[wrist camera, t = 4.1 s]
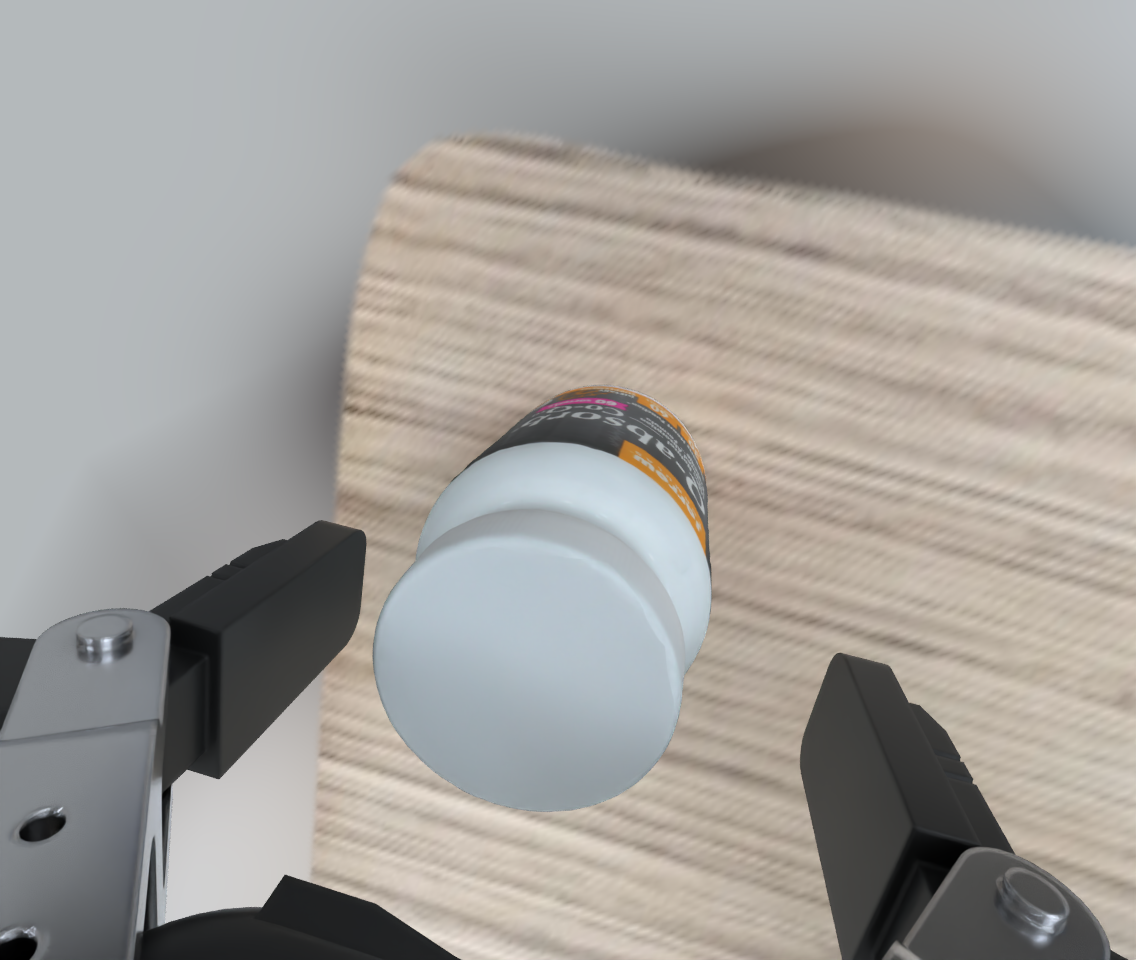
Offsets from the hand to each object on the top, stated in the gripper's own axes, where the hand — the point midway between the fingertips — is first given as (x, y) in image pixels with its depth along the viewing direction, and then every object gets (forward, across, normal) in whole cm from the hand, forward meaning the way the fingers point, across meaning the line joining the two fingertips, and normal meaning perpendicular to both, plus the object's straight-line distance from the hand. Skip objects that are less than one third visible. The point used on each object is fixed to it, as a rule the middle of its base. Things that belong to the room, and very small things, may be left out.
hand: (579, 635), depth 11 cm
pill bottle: (+8, +1, 0) cm, 8 cm away
